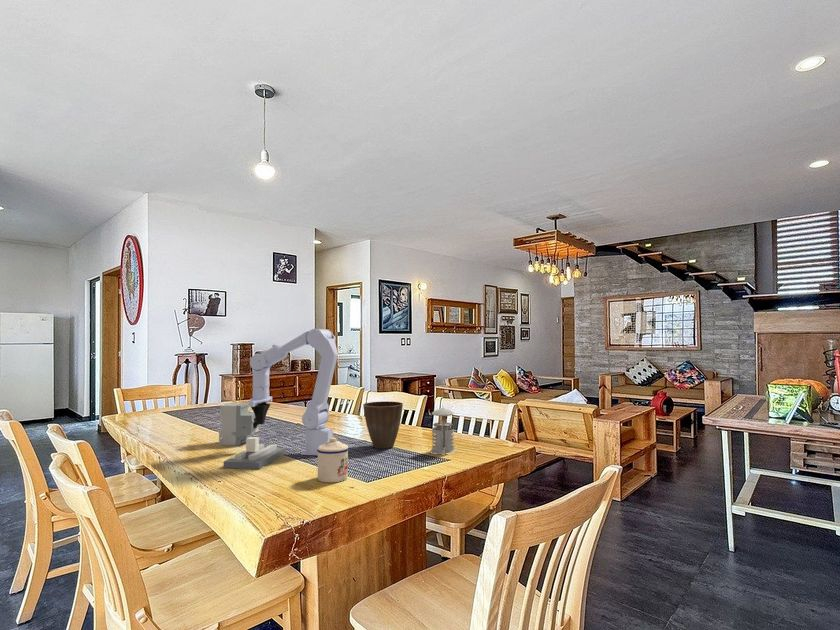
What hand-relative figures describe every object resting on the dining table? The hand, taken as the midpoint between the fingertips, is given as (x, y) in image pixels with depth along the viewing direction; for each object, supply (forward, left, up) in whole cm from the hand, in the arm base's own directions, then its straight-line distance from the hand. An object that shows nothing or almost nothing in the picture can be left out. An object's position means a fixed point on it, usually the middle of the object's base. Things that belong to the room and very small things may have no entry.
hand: (260, 423), depth 171 cm
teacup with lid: (-38, +29, -10) cm, 49 cm away
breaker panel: (-6, +14, -9) cm, 18 cm away
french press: (-67, -5, -10) cm, 68 cm away
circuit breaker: (+13, -10, -10) cm, 19 cm away
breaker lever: (-6, +17, -7) cm, 19 cm away
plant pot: (-44, -11, -10) cm, 46 cm away
